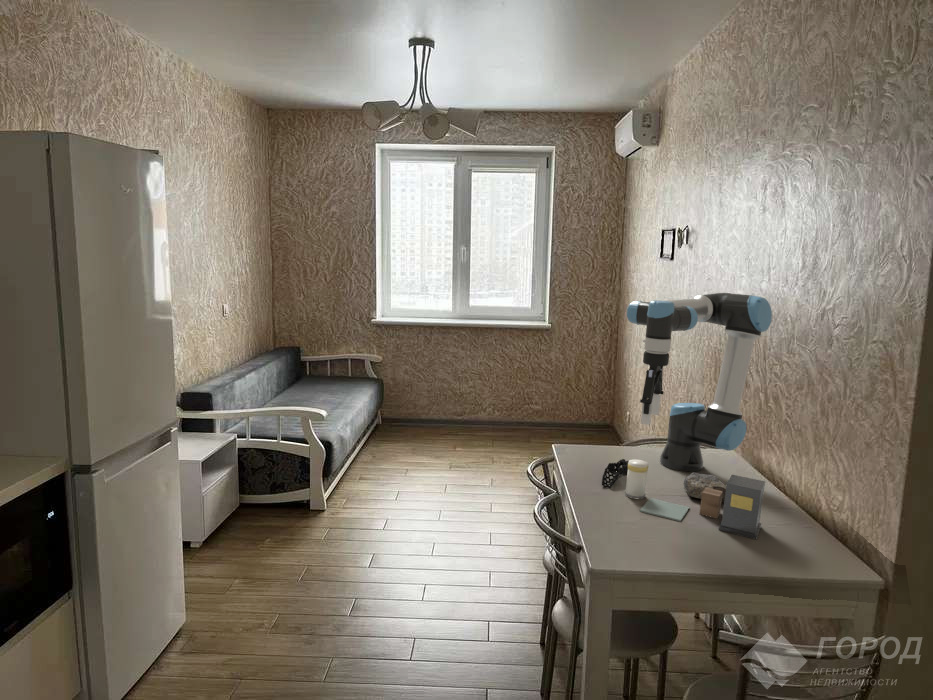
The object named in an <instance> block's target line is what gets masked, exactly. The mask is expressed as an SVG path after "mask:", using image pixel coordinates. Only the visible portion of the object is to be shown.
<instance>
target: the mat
mask: <svg viewBox="0 0 933 700" xmlns="http://www.w3.org/2000/svg"><path fill="white" fill-rule="evenodd" d="M688 509H689V510H690V506H686V505H682V504H677V503H674V502H669V501H665V500H661V499H657V498H653V497H650V498H649V499H648V500H647V501H646V502H645V503H644V505H643V506H641V508H640V509H639V512H641V513H645V514H649V515H653V516H656V517H661V518H665V519H668V520H672V521H676V522H682V520H683V518H685V516H686V514H688V511H689V510H688Z"/></svg>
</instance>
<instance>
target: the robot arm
mask: <svg viewBox="0 0 933 700" xmlns="http://www.w3.org/2000/svg"><path fill="white" fill-rule="evenodd" d="M772 312H773V311H772V307H771V304H770V302H769V301H768V299H766V298H764V296H763V297H762V296H757V295H752V294H751V295H750V294H739V293H729V292H717V293H716V292H715V293H709V294H700V295H696V296H693V298H687V299H685V298H684V299H672V300H651V301H642V300H639V301H637V300H633V301H632V302H630V303H629V304H628V307H627V308H626V318H627V320H628V321H629V322H630V323H631V324H635V325H637V326H638V325H641V326H646V328H645V329H646V331H645V338H644V339H643V340H642V342H643V343H644V348H643V349H644V350H645V351H644V352H643V359H642V363H644V365H649V368H648V369H646V371H645V381H644V385H643V390H642V391H643V392H642V397H641V399H639V403H642V407H641V416H640V417H641V418H640V424H641V425H647V426H651V423H652V422H651V421H652V415H654V416H659V414H660V406H661V395H664V393H665V392H664V391H663V375H664V374H663V370H664V367H666V366H668V365H669V362H670V354H669V352H670V351H671V345H672V344H671V343H672V333H673V332H682V331H683V332H685V331H689V330H692V329H693V328H695V327H696V326H697V324H698V323H709V324H714V325H718V326H724V327H725V328H724V331H725V334H727V338H726V339H727V340H726V344H725V349H724V353H723V357H722V363H721V367H720V372H719V376H718V381H717V384H716V389H715V392H714V398H713V402H712V403H711V404H709V405H708V406H707V408H706V407H705V404H702V403H698V402H697V403H696V402H679V403H674V404H673V405H671V406H670V407H671V408H670V412H669V421H668V429H667V438H666V439H667V441H666V443H665V446H664V448H663V450H662V452H661V454H660V457H659V463H660V462H661V463H660V464H661V465H662V464H663V466H664V465H665V466H664V467H666V466H667V468H668V469H672V470H676V471H681V470H683V472H698V471H701V470H702V469H703V466H704V460H703V455H702V450H701V444H703V445H707V446H710V447H713V448H716V449H718V450H723V451H729V452H730V451H733V450H735V449H737V448H738V447H739V446H740V445H741V444H742V443H743V441H744V439H745V437H746V434H747V423H746V421H744V419H743V412H742V411H741V409H740V407H741V402H742V397H743V392H744V388H745V384H746V379H747V374H748V370H749V366H750V362H751V358H752V357H751V356H752V353H753V348H754V345H755V341H756V340H758V339H760V338H761V335H762V333H763V332H766V331H768V330H769V328H770V327H771V323H772V319H773V318H772V316H773V315H772V314H773V313H772Z"/></svg>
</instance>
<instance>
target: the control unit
mask: <svg viewBox="0 0 933 700" xmlns="http://www.w3.org/2000/svg"><path fill="white" fill-rule="evenodd" d="M765 484H766V481H765V480H761V479H756V478H751V477H745V476H741V475H736V474H731V476H730V477H729V479H728V480H727V482H726V484H725V485H726V493H725V501H724V502H723V503H724V504H723V511H722V519H721V522H720V524H719V525H718V531H722V532H725V533H730V534H734V535H738V536H741V537H745V538H749V539H753V538H754V539H753V540H757V539H758V535H759V534H760V531H761V529H762V528H761V527H762V523H761V521H760V520H761V514H762V506H763V500H764V493H765Z"/></svg>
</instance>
